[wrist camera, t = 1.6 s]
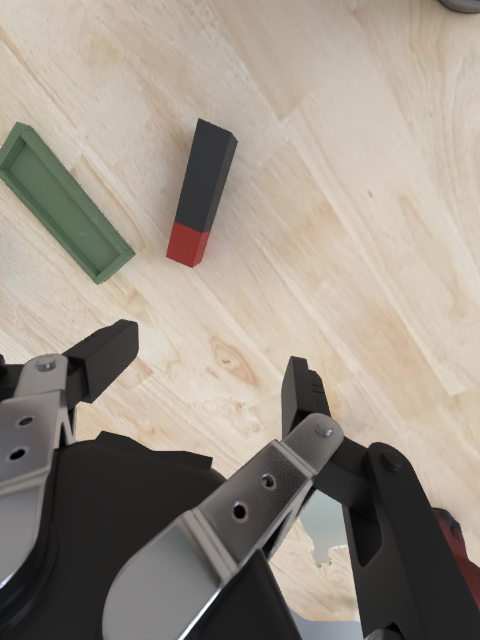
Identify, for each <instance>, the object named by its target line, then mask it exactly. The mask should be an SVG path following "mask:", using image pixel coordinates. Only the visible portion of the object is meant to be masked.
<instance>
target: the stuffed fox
mask: <svg viewBox="0 0 480 640" xmlns="http://www.w3.org/2000/svg"><path fill="white" fill-rule="evenodd" d="M432 510H433V512H434V514H435V516H436V518H437V520H438V522H439V524H440V527H441V529H442V531H443V533H444V535H445V537H446V539H447V542H448V544H449V546H450V548H451V550H452V552H453V554H454V556H455V559H456V561H457V563H458V565H459V567H460V569H461V571H462V573H463V576H464V578H465V580H466V582H467V584H468V586H469V588H470V591H471V593H472V595H473V597H474V599H475V601H476V603H477V605H478V608H479V610H480V568H479V567H478V566H477V565H475V564H474V563H473V562H471V561H469V559H468V556H467V553H466V547H465V542H464V539H463V535H462V531H461V527H460V524H459V523H458V522H457V521H456V520H454V518H452V517H451V515H450V514H449V512H447V511H445V510H440V509H432Z"/></svg>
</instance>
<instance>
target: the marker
mask: <svg viewBox="0 0 480 640" xmlns="http://www.w3.org/2000/svg"><path fill="white" fill-rule="evenodd" d="M237 143H238V141H237V140H236V138H235V137H234V135H233V134H232V133H231V132H229V131H227V130H225V129H222V128H220V127H218V126H216V125H213V124H211V123H209V122H207V121H204V120H202V119H200V118H199V119H198V122H197V127H196V131H195V135H194V140H193V144H192V148H191V152H190V157H189V161H188V165H187V169H186V174H185V178H184V182H183V186H182V191H181V195H180V199H179V204H178V208H177V212H176V216H175V221H174V225H173V229H172V233H171V237H170V242H169V246H168V250H167V255H166V257H168V258H170V259H172V260H175V261H177V262H179V263H182V264H184V265H186V266H189V267H191V268H193V267H194V266H196V265H197V264H199V263H200V262H201V260H202V257H203V253H204V250H205V247H206V244H207V240H208V237H209V234H210V230H211V227H212V224H213V221H214V217H215V214H216V211H217V208H218V204H219V201H220V198H221V195H222V191H223V188H224V185H225V182H226V178H227V175H228V172H229V169H230V165H231V162H232V159H233V156H234V152H235V149H236V146H237Z"/></svg>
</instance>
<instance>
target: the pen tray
mask: <svg viewBox="0 0 480 640" xmlns="http://www.w3.org/2000/svg"><path fill="white" fill-rule="evenodd" d="M0 178H1V179H2V180H3V181H4V182H5V184H6V185H7V186H8V187H9V188H10V189H11V190H12V191H13V192H14V194H15V195H16V196H17V197H18V198H19V199H20V200H21V201H22V202H23V203H24V205H25V206H26V207H27V208H28V209H29V210H30V211H31V212H32V213H33V215H34V216H35V217H36V218H37V219H38V220H39V221H40V222H41V223H42V225H43V226H44V227H45V228H46V229H47V230H48V231H49V232H50V233H51V234H52V236H53V237H54V238H55V239H56V240H57V241H58V242H59V243H60V244H61V246H62V247H63V248H64V249H65V250H66V251H67V252H68V253H69V254H70V255H71V257H72V258H73V259H74V260H75V261H76V262H77V263H78V264H79V265H80V267H81V268H82V269H83V270H84V271H85V272H86V273H87V274H88V275H89V276H90V278H91V279H92V280H93V281H94V282H95V283H96V284H97V285H98V284H100V283H103V282H105V281H106V280H107V279H109V278H110V277H111V276H112V275H113V274H114V273H115V272H116V271H117V270H119V269H120V268H121V267H122V266H123V265H124V264H125V263H126V262H128V261H129V260H130V259H131V258H132V257H133V256H134V255H135V253H134V252H133V251H132V249H131V248H130V247H129V246H128V244H127V243H126V242H125V241H124V240H123V238H122V237H121V236H120V235H119V233H118V232H117V231H116V230H115V229H114V227H113V226H112V225H111V224H110V222H109V221H108V220H107V219H106V218H105V216H104V215H103V214H102V213H101V211H100V210H99V209H98V208H97V207H96V205H95V204H94V203H93V202H92V200H91V199H90V198H89V197H88V196H87V194H86V193H85V192H84V191H83V189H82V188H81V187H80V186H79V184H78V183H77V182H76V181H75V180H74V178H73V177H72V176H71V175H70V173H69V172H68V171H67V170H66V169H65V167H64V166H63V165H62V164H61V162H60V161H59V160H58V159H57V158H56V156H55V155H54V154H53V153H52V151H51V150H50V149H49V148H48V147H47V145H46V144H45V143H44V142H43V140H42V139H41V138H40V137H39V136H38V134H37V133H36V132H35V131H34V129H33V128H32V127H31V126H27V125H25V124H22V123H19V122H16V124H15V126H14V128H13V129H12V131H11V133H10V134H9V136H8V138H7V139H6V141H5V143H4V144H3V146H2V148H1V149H0Z"/></svg>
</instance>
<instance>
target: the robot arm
mask: <svg viewBox="0 0 480 640" xmlns="http://www.w3.org/2000/svg"><path fill="white" fill-rule="evenodd" d="M440 1H441V2H442V3H443V4H445V5H446V6H448V7H449V8H451V9H453V10H456V11H460V12H469V13H473V12H480V0H440ZM138 350H139V338H138V324H137V322H133V321H129V320H124V319H120V320H119V321H117V322H116V323H114V324H113V325H111V326H108V327H105V328H102V329H99V330H97V331H96V332H94V333H93V334H91V335H90V336H88V337H87V338H85V339H84V340H82V341H80V342H79V343H77V344H76V345H74V346H73V347H71V348H70V349H68V350H67V351H65V352H64V353H62V354H45V355H41V356H38V357H35V358H33V359H31V360H29V361H28V362H27V363H25V364H5V360H4V357H3V355H1V354H0V640H302V638H301V635H300V633H299V631H298V629H297V626H296V624H295V622H294V620H293V617H292V615H291V613H290V611H289V608H288V606H287V604H286V602H285V599H284V597H283V595H282V593H281V591H280V588H279V586H278V584H277V582H276V579H275V577H274V575H273V573H272V570H271V568H270V566H269V564H268V562H269V561H270V559H271V558H272V556H273V555H274V554H275V552H276V551H277V549H278V548H279V546H280V545H281V543H282V542H283V540H284V539H285V537H286V535H287V534H288V532H289V530H290V529H291V527H292V525H293V524H294V522H295V521H296V520H297V518H298V517H299V515H300V514H301V513H302V511H303V510H304V508H305V507H306V505H307V504H308V503H309V501H310V500H311V498H312V497H313V496H314V494H315V493H316V491H317V490H320V491H321V492H323V493H324V494H326V495H328V496H329V497H331V498H333V499H335V500H336V501H338V502H340V503H341V504H342V510H343V517H344V522H345V529H346V535H347V541H348V547H349V553H350V559H351V565H352V571H353V577H354V584H355V590H356V596H357V602H358V608H359V614H360V620H361V626H362V631H363V638H364V640H480V610H479V608H478V605H477V603H476V601H475V599H474V597H473V595H472V593H471V591H470V588H469V586H468V584H467V582H466V580H465V578H464V576H463V573H462V571H461V569H460V567H459V565H458V563H457V561H456V559H455V556H454V554H453V552H452V550H451V548H450V546H449V544H448V542H447V539H446V537H445V535H444V533H443V531H442V529H441V527H440V524H439V522H438V520H437V518H436V516H435V514H434V512H433V510H432V507H431V505H430V503H429V501H428V499H427V497H426V495H425V492H424V490H423V488H422V486H421V484H420V482H419V480H418V478H417V475H416V473H415V471H414V469H413V467H412V465H411V463H410V462H409V461H408V459H407V458H406V457H405V456H404V455H403V454H402V453H401V452H399V451H398V450H397V449H395V448H394V447H392V446H390V445H388V444H385V443H381V442H375V443H372V444H371V445H370V446H369V448H366V447H364V446H362V445H360V444H358V443H356V442H354V441H352V440H350V439H348V438H347V437H345V436H344V433H343V430H342V428H341V427H340V425H339V424H338V423H337V422H336V421H335V420H333V419H332V418H331V414H330V410H329V406H328V402H327V399H326V395H325V391H324V388H323V383H322V379H321V378H320V376H319V375H318V374H317V373H316V371H312V370H309V369H308V364H307V360H306V359H304V358H300V357H295V356H291V357H290V359H289V363H288V366H287V369H286V372H285V376H284V379H283V383H282V390H281V402H282V440H281V441H280V442H279V441H278V440H276V439H274V440H272V441H271V442H270V443H268V444H267V445H266V446H265V447H264V448H263V449H262V450H260V451H259V452H258V453H257V454H256V455H255V456H254V457H253V458H251V459H250V460H249V461H248V462H247V463H246V464H245V465H244V466H242V467H241V468H240V469H239V470H238V471H237V472H236V473H234V474H233V475H232V476H231V477H230V478H229V479H228V480H227V479H226V478H225V477H224V476H223V475H221V474H220V473H219V472H217V471H216V470H214V469H213V468H211V466H212V460H213V458H212V457H208V456H204V455H200V454H195V453H191V452H187V451H153V450H150V449H149V448H147V447H145V446H143V445H142V444H140V443H138V442H136V441H135V440H133V439H131V438H129V437H126V436H122V435H118V434H114V433H110V432H106V431H101V433H100V434H99V435H98V436H97V438H96V439H95V440H85V441H80V442H76V443H75V440H76V418H77V408H76V405H77V404H78V403H79V402H80V401H82V402H86V403H90V404H92V403H93V402H94V401H95V400H96V399H97V398H98V397H99V396H100V394H101V393H102V392H103V391H104V390H105V389H106V388H107V387H108V386H109V385H110V384H111V383H112V382H113V381H114V380H115V379H116V378H117V377H118V376H119V375H120V374H121V373H122V372H123V371H124V370H125V369H126V368H127V367H128V365H129V364H130V363H131V362H132V361H133V360H134V359H135V358H136V356H137V354H138Z"/></svg>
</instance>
